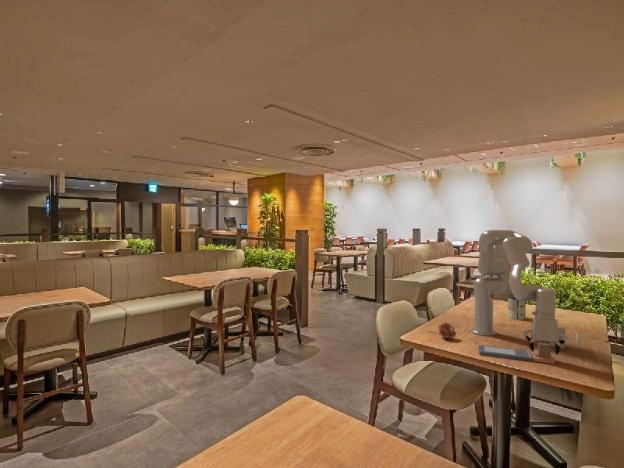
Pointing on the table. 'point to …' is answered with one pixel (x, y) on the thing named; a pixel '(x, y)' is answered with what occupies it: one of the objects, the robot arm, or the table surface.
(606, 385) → the table surface
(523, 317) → the coffee can
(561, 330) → the printed box
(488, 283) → the robot arm
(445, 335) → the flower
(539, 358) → the stub
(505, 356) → the ticket board
